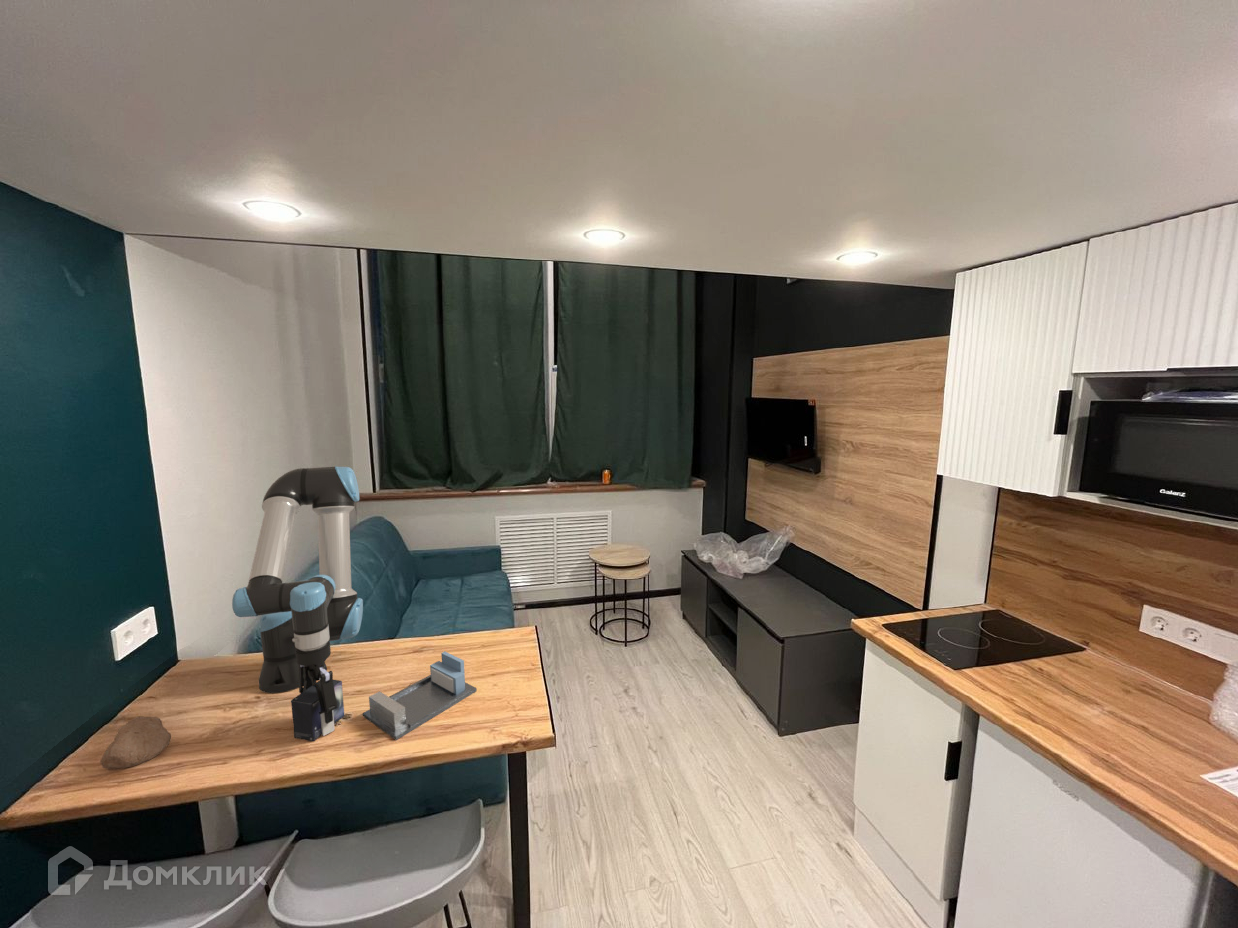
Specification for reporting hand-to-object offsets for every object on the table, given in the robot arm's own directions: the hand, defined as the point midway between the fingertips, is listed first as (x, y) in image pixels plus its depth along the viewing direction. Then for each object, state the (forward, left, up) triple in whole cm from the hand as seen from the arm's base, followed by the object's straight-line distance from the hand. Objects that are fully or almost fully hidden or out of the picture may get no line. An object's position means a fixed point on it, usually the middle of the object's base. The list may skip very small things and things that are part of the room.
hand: (320, 725), depth 128 cm
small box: (0, 0, -1) cm, 1 cm away
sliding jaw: (+13, +30, +1) cm, 33 cm away
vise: (+13, +20, 0) cm, 24 cm away
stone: (-25, -29, -1) cm, 38 cm away
